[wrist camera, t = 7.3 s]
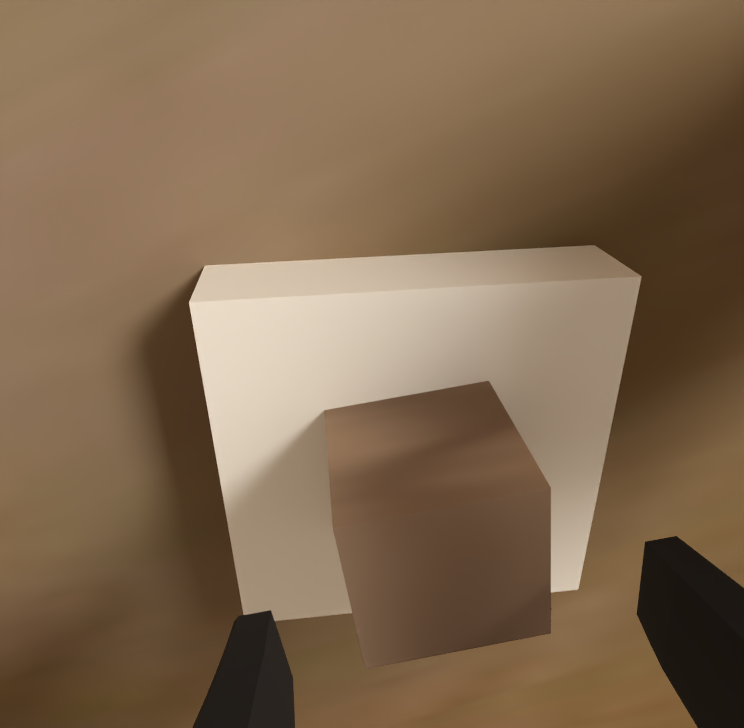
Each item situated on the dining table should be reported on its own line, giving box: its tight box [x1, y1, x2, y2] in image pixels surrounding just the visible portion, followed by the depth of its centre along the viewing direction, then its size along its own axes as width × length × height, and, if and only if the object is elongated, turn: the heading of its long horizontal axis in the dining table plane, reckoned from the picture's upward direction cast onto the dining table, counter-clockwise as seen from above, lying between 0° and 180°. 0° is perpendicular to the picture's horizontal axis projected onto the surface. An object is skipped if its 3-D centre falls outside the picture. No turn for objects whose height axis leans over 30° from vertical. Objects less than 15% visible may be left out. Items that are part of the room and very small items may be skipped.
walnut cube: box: [324, 381, 551, 669], centre depth 13 cm, size 4×4×4 cm
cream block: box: [189, 245, 642, 621], centre depth 17 cm, size 10×10×3 cm
